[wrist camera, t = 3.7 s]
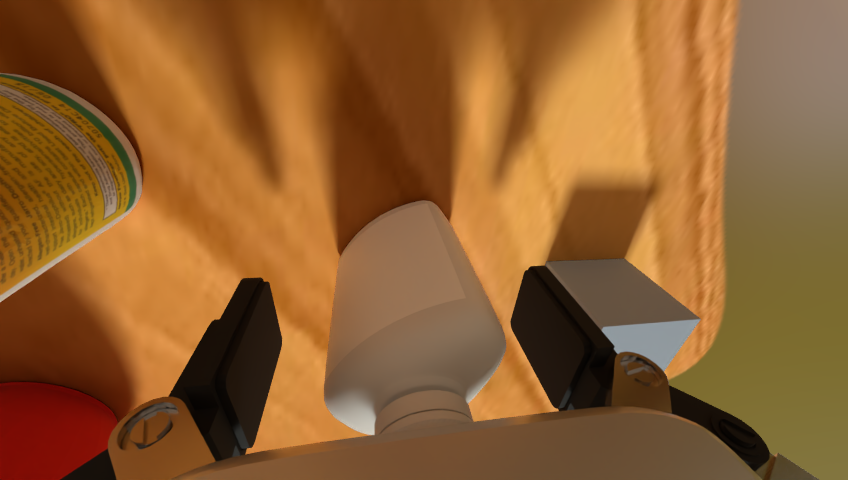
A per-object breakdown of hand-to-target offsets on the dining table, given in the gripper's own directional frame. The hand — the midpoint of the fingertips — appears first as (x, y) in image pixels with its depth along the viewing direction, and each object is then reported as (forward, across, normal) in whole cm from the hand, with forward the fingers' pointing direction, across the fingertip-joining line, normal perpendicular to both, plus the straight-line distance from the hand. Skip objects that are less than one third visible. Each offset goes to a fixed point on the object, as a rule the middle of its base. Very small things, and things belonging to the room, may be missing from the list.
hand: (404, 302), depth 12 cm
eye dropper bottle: (+4, 0, 0) cm, 4 cm away
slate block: (+4, -11, +4) cm, 13 cm away
